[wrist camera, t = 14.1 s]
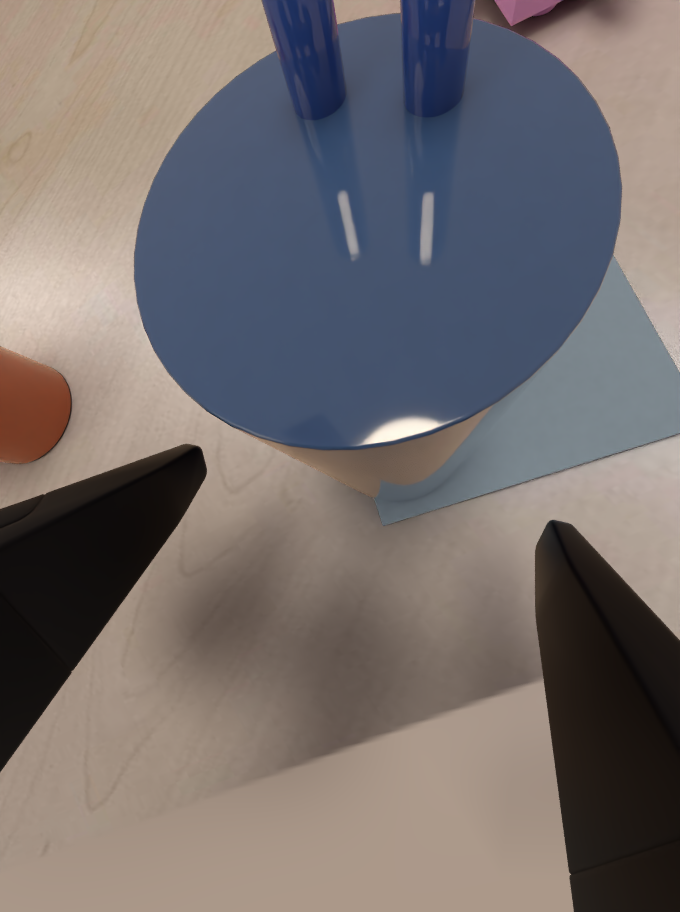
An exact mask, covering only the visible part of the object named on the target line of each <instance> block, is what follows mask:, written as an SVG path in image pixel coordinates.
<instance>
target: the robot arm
mask: <svg viewBox="0 0 680 912" xmlns="http://www.w3.org/2000/svg"><path fill="white" fill-rule="evenodd" d="M206 474H207V468H206V464H205V460H204V456H203V452H202V449H201V448H200V447H199V446H196V445H191V444H183V445H180V446H178V447H175V448H172V449H169V450H166V451H163V452H161V453H158V454H155V455H152V456H149V457H147V458H144V459H141V460H138V461H135V462H133V463H130V464H127V465H124V466H121V467H118V468H116V469H113V470H110V471H107V472H104V473H102V474H99V475H96V476H93V477H90V478H88V479H85V480H82V481H79V482H76V483H73V484H71V485H68V486H65V487H62V488H59V489H57V490H54V491H51V492H48V493H46V494H45V495H44V494H42V495H39V496H37V497H34V498H31V499H28V500H25V501H22V502H20V503H17V504H14V505H11V506H8V507H5V508H2V509H0V772H1V770H2V769H3V768H4V766H5V765H6V764H7V762H8V761H9V759H10V758H11V757H12V755H13V754H14V752H15V751H16V750H17V748H18V747H19V745H20V744H21V743H22V741H23V740H24V738H25V737H26V736H27V734H28V733H29V731H30V730H31V729H32V727H33V726H34V725H35V723H36V722H37V720H38V719H39V718H40V716H41V715H42V713H43V712H44V711H45V709H46V708H47V706H48V705H49V704H50V702H51V701H52V699H53V698H54V697H55V695H56V694H57V692H58V691H59V690H60V688H61V687H62V686H63V684H64V683H65V681H66V680H67V679H68V677H69V676H70V674H71V673H72V672H71V671H73V670H74V668H75V667H76V666H77V664H78V663H79V662H80V660H81V659H82V657H83V656H84V655H85V653H86V652H87V650H88V649H89V648H90V646H91V645H92V643H93V642H94V641H95V639H96V638H97V637H98V635H99V634H100V632H101V631H102V630H103V628H104V627H105V625H106V624H107V623H108V621H109V620H110V618H111V617H112V616H113V614H114V613H115V611H116V610H117V609H118V607H119V606H120V605H121V603H122V602H123V600H124V599H125V598H126V596H127V595H128V593H129V592H130V591H131V589H132V588H133V586H134V585H135V584H136V582H137V581H138V579H139V578H140V577H141V575H142V574H143V573H144V571H145V570H146V568H147V567H148V566H149V564H150V563H151V561H152V560H153V559H154V557H155V556H156V554H157V553H158V552H159V550H160V549H161V547H162V546H163V545H164V543H165V542H166V541H167V539H168V538H169V536H170V535H171V534H172V532H173V531H174V529H175V528H176V527H177V525H178V524H179V522H180V521H181V519H182V517H183V516H184V514H185V512H186V511H187V509H188V507H189V505H190V504H191V502H192V500H193V498H194V497H195V495H196V493H197V491H198V490H199V488H200V486H201V484H202V483H203V481H204V479H205V477H206ZM535 613H536V624H537V632H538V640H539V647H540V655H541V662H542V670H543V678H544V685H545V693H546V700H547V708H548V716H549V723H550V730H551V738H552V746H553V753H554V760H555V768H556V776H557V784H558V791H559V798H560V807H561V814H562V822H563V829H564V837H565V845H566V852H567V860H568V867H569V872H570V874H571V875H570V884H571V892H572V900H573V907H574V912H680V640H679V639H678V638H677V637H676V636H675V635H674V634H673V632H672V631H671V630H670V629H669V628H668V627H667V626H666V625H665V624H664V623H663V622H662V621H661V620H660V619H659V617H658V616H657V615H656V614H655V613H654V612H653V611H652V610H651V609H650V608H649V607H648V606H647V605H646V604H645V602H644V601H643V600H642V599H641V598H640V597H639V596H638V595H637V594H636V593H635V592H634V591H633V590H632V588H631V587H630V586H629V585H628V584H627V583H626V582H625V581H624V580H623V579H622V578H621V577H620V576H619V575H618V573H617V572H616V571H615V570H614V569H613V568H612V567H611V566H610V565H609V564H608V563H607V562H606V561H605V560H604V558H603V557H602V556H601V555H600V554H599V553H598V552H597V551H596V550H595V549H594V548H593V547H592V546H591V544H590V543H589V542H588V541H587V540H586V539H585V538H584V537H583V536H582V535H581V534H580V533H579V532H578V531H577V529H576V528H575V527H574V526H573V525H571V524H569V523H566V522H561V521H556V520H551V521H549V522H548V523H547V525H546V527H545V529H544V531H543V533H542V535H541V537H540V539H539V541H538V543H537V545H536V550H535Z"/></svg>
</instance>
